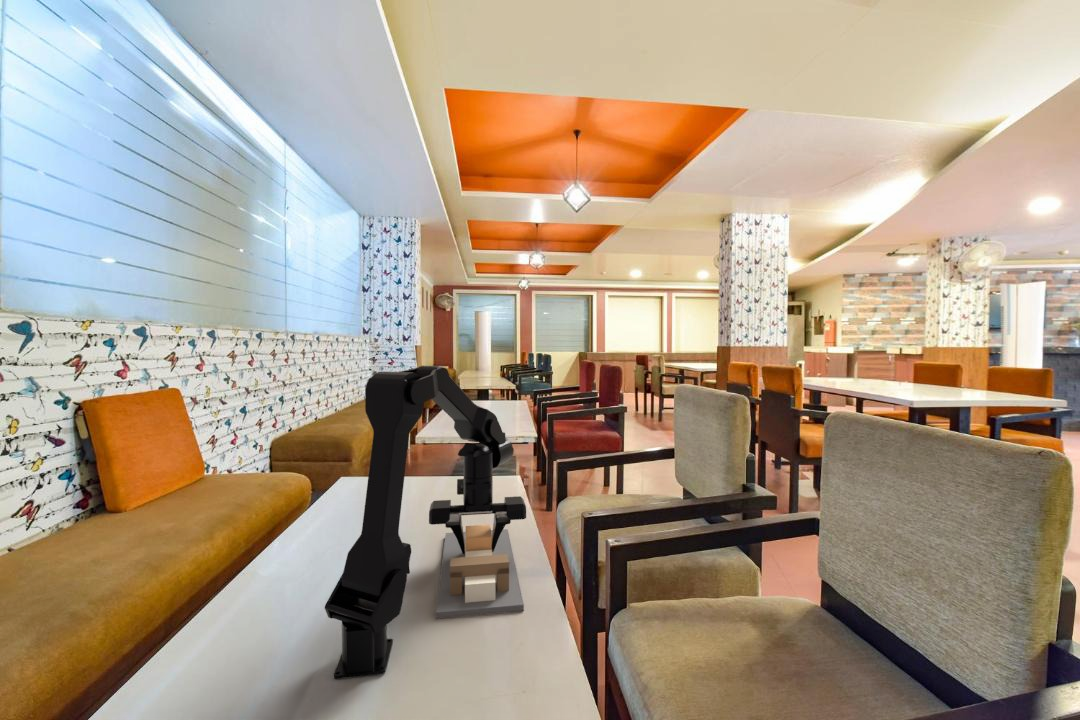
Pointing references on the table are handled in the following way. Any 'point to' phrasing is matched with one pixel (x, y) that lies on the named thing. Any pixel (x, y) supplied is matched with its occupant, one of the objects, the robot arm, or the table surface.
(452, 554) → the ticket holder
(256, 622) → the table surface
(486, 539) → the peach cube cap
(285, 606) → the table surface
